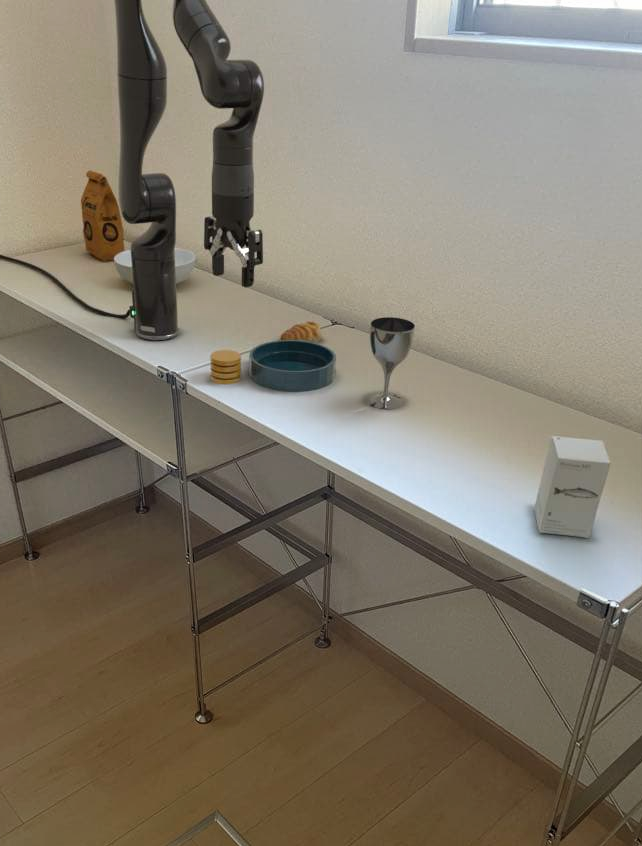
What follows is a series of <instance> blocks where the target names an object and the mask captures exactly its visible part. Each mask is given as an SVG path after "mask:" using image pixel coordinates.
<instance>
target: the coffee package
mask: <svg viewBox="0 0 642 846" xmlns="http://www.w3.org/2000/svg"><path fill="white" fill-rule="evenodd" d="M85 176H86V178H88V180H87V183H86V185H85V187H84V190H83V192H82V196H81V198H80V206H81V207H80V208H81V216H82V217H81V219H82V224H83V225H82V227H83V228H82V234H83V238H84V243H85V251H87V252H88V253H89V254H92V255H93V256H94V257H95V258H97V259H98V260H101V261H102V262H107V261H110V262H111V261H114V257H115V256H116V255H117V254H119V253H121V252H123V251H125V235H124V226H123V222H122V214H121V210H120V205H119V203H118V200H117V198H116V196H115V194H114V192H113V189H112V187H111V185H110V184H109V181H108V179H107V176H105V175H103V174H102V173H100V172H97V171H93V170H88V171H87V172H86V174H85Z"/></svg>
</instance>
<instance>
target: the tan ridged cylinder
mask: <svg viewBox="0 0 642 846" xmlns="http://www.w3.org/2000/svg"><path fill="white" fill-rule="evenodd" d="M209 358H210V359H209V360H210V380H211V381H212V382H213V383H215V384H218V385H219V384H220V385H234V384H237V383H239V382H240V381H241V379H242V354H241V353H240V352H239V351H236V350H231V349H219V350H215V351H213V352H212V353H211V354H210V355H209Z"/></svg>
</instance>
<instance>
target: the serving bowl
mask: <svg viewBox="0 0 642 846" xmlns="http://www.w3.org/2000/svg"><path fill="white" fill-rule="evenodd" d="M174 251H175V272H176V285H177V284H180V283H182V282H184V281H185V280H187V279H188V278H189V277H190V276H191V275H192V273H193V271H194V269H195V265H196V255H195V253H193V252H192V251H191V250H189V249H184V248H180V247H175V249H174ZM113 262H114V266H115V270H116V271H117V273H118V274H119V276H120V277H121V278H122V279H123V280H124V281H126V282H128V283H130V284H132V285H133V274H132V261H131V248H130V249H127V250H124V251H123V252H121V253H119V254H117V255H116V256H115V257H114V260H113Z"/></svg>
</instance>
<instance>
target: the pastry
mask: <svg viewBox="0 0 642 846" xmlns="http://www.w3.org/2000/svg"><path fill="white" fill-rule="evenodd" d="M323 337H324V334H323V333H322V330H321V328H320V325H319V324H318V323H317V322H315V321H307V322H306V323H303V322H302V323H298V324H297V323H296V324H294V325H293V326H291V327H290V328H289V329H287V330H284V332H283V333H282V334H281V335H280V340H300V341H308V342H313V343H317V342H320V341H322V340H323Z"/></svg>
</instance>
